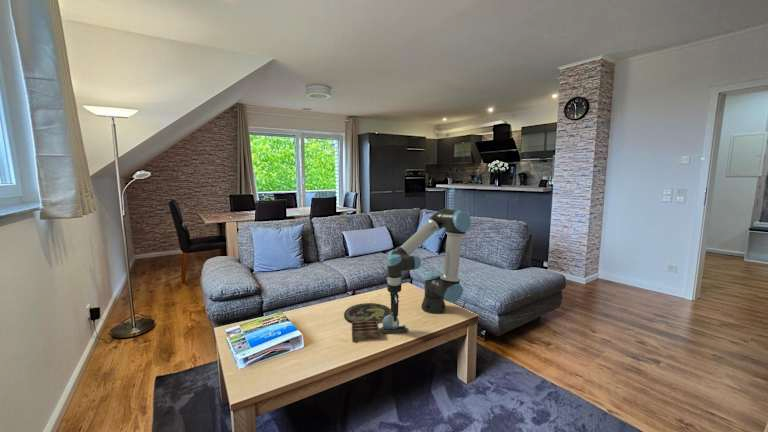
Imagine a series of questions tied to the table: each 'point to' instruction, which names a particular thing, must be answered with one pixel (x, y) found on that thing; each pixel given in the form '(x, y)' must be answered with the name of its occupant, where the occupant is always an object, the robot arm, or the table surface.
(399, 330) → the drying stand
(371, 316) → the decorative plate
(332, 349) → the table surface
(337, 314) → the table surface
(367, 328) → the dish rack
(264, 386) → the table surface
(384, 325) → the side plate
